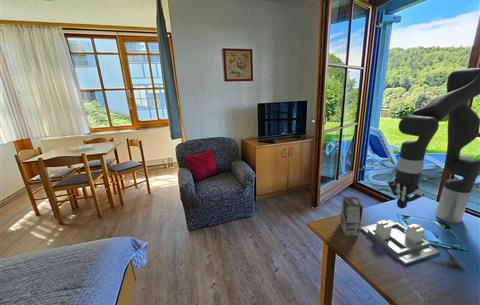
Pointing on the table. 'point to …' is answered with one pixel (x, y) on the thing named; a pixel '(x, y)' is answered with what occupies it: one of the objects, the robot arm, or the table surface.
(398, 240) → the white slotted board
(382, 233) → the tab
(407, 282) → the table surface
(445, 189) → the robot arm
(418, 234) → the tab
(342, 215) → the coffee box
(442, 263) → the table surface
